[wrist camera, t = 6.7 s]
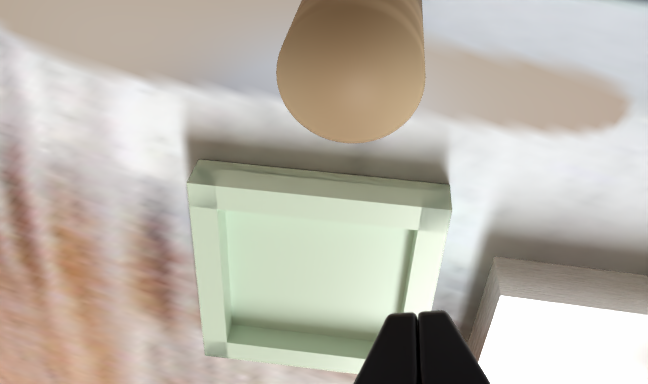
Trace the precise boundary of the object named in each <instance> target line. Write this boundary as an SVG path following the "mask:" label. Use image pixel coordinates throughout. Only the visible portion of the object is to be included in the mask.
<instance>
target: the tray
mask: <svg viewBox="0 0 648 384" xmlns="http://www.w3.org/2000/svg"><path fill="white" fill-rule="evenodd" d="M187 191H188V200H189V210H190V219H191V229H192V238H193V247H194V257H195V266H196V276H197V285H198V295H199V304H200V314H201V323H202V332H203V342H204V351H205V355H206V356H214V357H222V358H230V359H238V360H247V361H255V362H263V363H271V364H279V365H288V366H296V367H304V368H312V369H320V370H329V371H337V372H345V373H353V374H358V373H359V371H360V369H361V367H362V365H363V363H364V361H365V359H366V357H367V355H368V353H369V351H370V349H371V347H372V345H373V343H374V341H375V339H376V337H377V335H378V333H379V331H380V329H381V327H382V325H383V323H384V321H385V319H386V318H387V316H388V315H389V314H392V313H405V312H413V313H415V314H416V315H417V319H418V314H419V313H420V312H422V311H431V309H432V304H433V299H434V294H435V290H436V285H437V280H438V275H439V271H440V266H441V261H442V256H443V251H444V247H445V242H446V237H447V232H448V228H449V223H450V218H451V213H452V204H451V193H450V185H448V184H438V183H428V182H419V181H409V180H399V179H389V178H379V177H369V176H359V175H349V174H339V173H329V172H319V171H309V170H299V169H289V168H279V167H269V166H259V165H249V164H239V163H229V162H220V161H210V160H200V159H199V160H198V162H197V164H196V166H195V168H194V170H193V172H192V174H191V176H190V177H189V179H188V181H187Z"/></svg>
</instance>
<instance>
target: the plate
mask: <svg viewBox="0 0 648 384" xmlns="http://www.w3.org/2000/svg"><path fill="white" fill-rule="evenodd" d="M467 345H468V347H469V348H470V350H471V352H472V353H473V355H474V356H475V358H476V360H477V361H478V363H479V365H480V366H481V368H482V369H483V371H484V373H485V374H486V376H487V378H488V379H489V381H490V382H491V384H648V275H641V274H633V273H625V272H617V271H609V270H601V269H593V268H585V267H577V266H569V265H561V264H553V263H545V262H537V261H529V260H520V259H512V258H504V257H496V256H494V259H493V263H492V266H491V269H490V272H489V276H488V279H487V282H486V285H485V289H484V292H483V295H482V298H481V302H480V305H479V308H478V311H477V315H476V318H475V321H474V324H473V328H472V331H471V334H470V337H469V341H468V344H467Z"/></svg>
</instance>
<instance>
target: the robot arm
mask: <svg viewBox="0 0 648 384" xmlns="http://www.w3.org/2000/svg"><path fill="white" fill-rule="evenodd" d="M354 384H491V382H490V381H489V379H488V378H487V376H486V374H485V373H484V371H483V369H482V368H481V366H480V365H479V363H478V361H477V360H476V358H475V356H474V355H473V353H472V352H471V350H470V348H469V347H468V345H467V343H466V342H465V340H464V339H463V337H462V335H461V334H460V332H459V330H458V329H457V327H456V326H455V324H454V322H453V321H452V319H451V317H450V316H449V314H448V313H447V312H446V311H444V310H437V311H422V312H420V313H419V314H418V319H417V315H416V314H415V313H413V312H405V313H392V314H389V315H388V316H387V318H386V319H385V321H384V323H383V325H382V327H381V329H380V331H379V333H378V335H377V337H376V339H375V341H374V343H373V345H372V347H371V349H370V351H369V353H368V355H367V357H366V359H365V361H364V363H363V365H362V367H361V369H360V371H359V373H358V375H357V378H356V380H355V382H354Z"/></svg>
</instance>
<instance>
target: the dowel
mask: <svg viewBox="0 0 648 384" xmlns="http://www.w3.org/2000/svg"><path fill="white" fill-rule="evenodd" d="M276 74H277V84H278V88H279V92H280V95H281V98H282V100H283V102H284V104H285V106H286V107H287V109H288V110H289V112H290V113H291V114H292V115H293V117H294V118H295V119H296V120H297V121H298V122H299V123H300V124H301V125H303V126H304V127H305V128H307V129H308V130H310V131H311V132H313V133H315V134H317V135H318V136H321V137H323V138H326V139H329V140H332V141H336V142H343V143H364V142H369V141H374V140H377V139H380V138H382V137H385V136H387V135H389V134H391V133H392V132H394V131H396V130H397V129H398V128H400V127H401V126H402V125H403V124H405V122H406V121H407V120H408V119H409V118H410V117H411V116H412V114H413V113H414V112H415V110H416V109H417V107H418V105H419V103H420V101H421V98H422V95H423V91H424V87H425V57H424V36H423V15H422V0H302V1H301V4H300V6H299V8H298V10H297V13H296V15H295V17H294V20H293V22H292V25H291V27H290V29H289V31H288V34H287V36H286V38H285V40H284V43H283V45H282V48H281V51H280V53H279V57H278V62H277V71H276Z"/></svg>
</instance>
